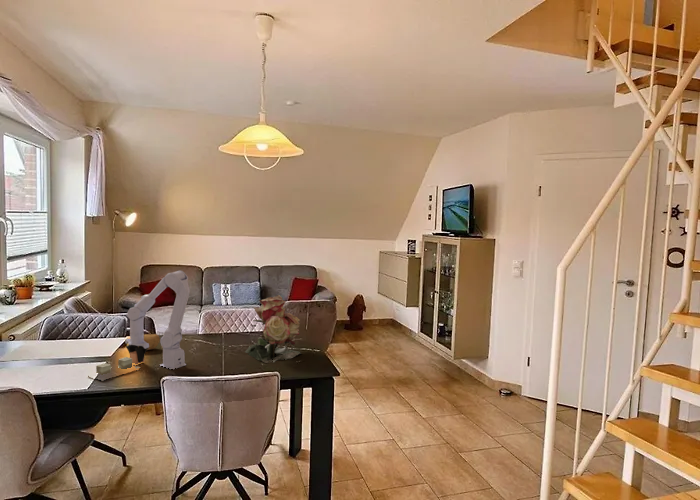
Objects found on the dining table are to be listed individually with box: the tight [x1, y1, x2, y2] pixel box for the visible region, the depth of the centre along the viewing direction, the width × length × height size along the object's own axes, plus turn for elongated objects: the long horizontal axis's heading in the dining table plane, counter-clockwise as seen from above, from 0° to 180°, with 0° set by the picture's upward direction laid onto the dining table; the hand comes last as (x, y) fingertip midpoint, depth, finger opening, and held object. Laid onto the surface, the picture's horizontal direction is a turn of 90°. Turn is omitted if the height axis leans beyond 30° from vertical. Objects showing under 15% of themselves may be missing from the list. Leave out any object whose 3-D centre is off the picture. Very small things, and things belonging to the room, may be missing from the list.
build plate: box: [95, 356, 141, 375], centre depth 196 cm, size 10×18×5 cm, turn 151°
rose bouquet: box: [244, 294, 302, 364], centre depth 228 cm, size 26×29×30 cm
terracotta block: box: [129, 351, 145, 364], centre depth 209 cm, size 4×4×6 cm
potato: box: [138, 333, 161, 351], centre depth 229 cm, size 10×14×8 cm
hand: (137, 360), depth 209 cm, fingers closed on terracotta block, 4 cm apart
